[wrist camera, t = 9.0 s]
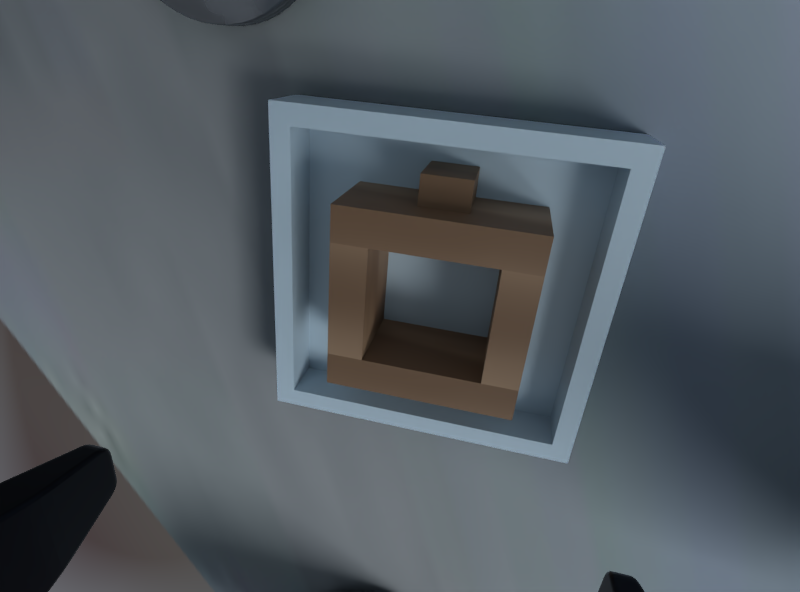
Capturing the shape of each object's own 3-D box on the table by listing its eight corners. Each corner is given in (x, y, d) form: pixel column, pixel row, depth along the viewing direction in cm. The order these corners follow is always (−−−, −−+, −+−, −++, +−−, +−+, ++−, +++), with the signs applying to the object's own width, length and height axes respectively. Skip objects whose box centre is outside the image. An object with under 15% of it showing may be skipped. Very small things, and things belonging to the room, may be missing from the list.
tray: (648, 134, 15) (665, 146, 14) (563, 424, 21) (567, 463, 19) (296, 94, 17) (268, 99, 15) (299, 370, 22) (277, 400, 20)
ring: (513, 370, 19) (511, 420, 17) (352, 339, 20) (326, 382, 18) (556, 176, 16) (562, 201, 13) (361, 151, 17) (330, 169, 14)
